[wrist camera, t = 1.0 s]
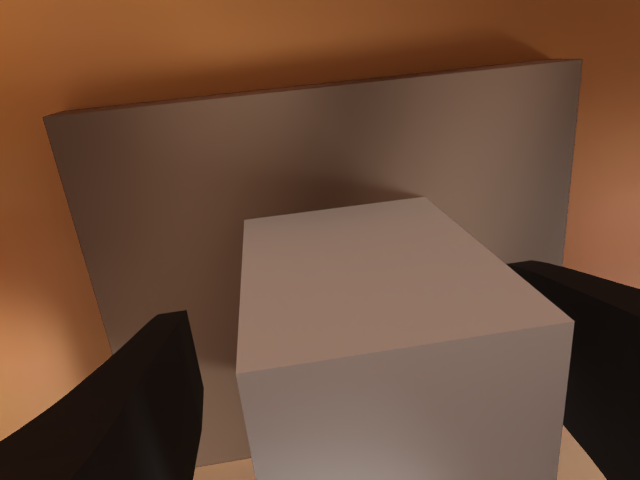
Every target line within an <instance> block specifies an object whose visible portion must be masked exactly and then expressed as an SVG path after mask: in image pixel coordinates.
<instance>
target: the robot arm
mask: <svg viewBox="0 0 640 480" xmlns="http://www.w3.org/2000/svg"><path fill="white" fill-rule="evenodd" d="M506 265H507V266H509V267H510V268H511V269H512V270H513V271H515V272H516V273H517V274H518V275H519V276H521V277H522V278H523V279H524V280H525V281H527V282H528V283H529V284H530V285H532V286H533V287H534V288H535V289H536V290H538V291H539V292H540V293H541V294H542V295H544V296H545V297H546V298H547V299H548V300H550V301H551V302H552V303H553V304H554V305H556V306H557V307H558V308H559V309H560V310H562V311H563V312H564V313H565V314H567V315H568V316H569V317H570V318H571V319H573V320H574V321H575V322H574V331H573V340H572V348H571V357H570V366H569V375H568V383H567V392H566V401H565V410H564V419H563V425H564V426H565V427H566V429H567V430H568V431H569V432H570V433H571V435H572V436H573V437H574V438H575V440H576V441H577V442H578V443H579V444H580V446H581V447H582V448H583V449H584V450H585V452H586V453H587V454H588V455H589V456H590V458H591V459H592V460H593V462H594V463H595V464H596V466H597V467H598V468H599V470H600V471H601V472H602V473H603V475H604V476H605V478H606V479H607V480H640V289H637V288H634V287H630V286H627V285H623V284H620V283H616V282H613V281H610V280H606V279H603V278H599V277H596V276H593V275H589V274H586V273H583V272H579V271H576V270H572V269H569V268H565V267H562V266H558V265H554V264H550V263H546V262H541V261H534V260H529V261H522V262H515V263H509V264H506ZM203 398H204V386H203V382H202V377H201V373H200V368H199V364H198V359H197V355H196V350H195V346H194V341H193V337H192V332H191V327H190V323H189V318H188V314H187V310H183V311H177V312H170V313H163V314H158V315H156V316H155V317H154V318H152V319H151V320H150V321H149V322H148V323H147V324H146V325H145V326H143V327H142V328H141V329H140V330H139V331H138V332H137V333H136V334H135V335H134V336H133V337H132V338H131V339H130V340H129V341H127V342H126V343H125V344H124V345H123V346H122V347H121V348H120V349H119V350H118V351H117V352H116V353H114V354H113V355H112V356H111V357H110V358H109V359H108V360H107V361H106V362H105V363H104V364H102V365H101V366H100V367H99V368H98V369H97V370H95V371H94V372H93V373H92V374H91V375H89V376H88V377H87V378H86V379H85V380H83V381H82V382H81V383H80V384H79V385H77V386H76V387H75V388H74V389H73V390H72V391H70V392H69V393H68V394H67V395H65V396H64V397H63V398H62V399H60V400H59V401H58V402H56V403H55V404H54V405H52V406H51V407H50V408H48V409H47V410H46V411H44V412H43V413H42V414H40V415H39V416H37V417H36V418H34V419H33V420H32V421H30V422H29V423H27V424H26V425H24V426H23V427H22V428H20V429H19V430H17V431H16V432H14V433H13V434H11V435H10V436H8V437H7V438H5V439H4V440H2V441H0V480H193V476H194V470H195V465H196V460H197V454H198V449H199V443H200V437H201V432H202V419H203Z"/></svg>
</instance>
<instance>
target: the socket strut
mask: <svg viewBox="0 0 640 480" xmlns="http://www.w3.org/2000/svg"><path fill="white" fill-rule="evenodd" d="M574 322H575V321H574V320H573V319H571V318H570V317H569V316H568V315H567V314H565V313H564V312H563V311H562V310H560V309H559V308H558V307H557V306H556V305H554V304H553V303H552V302H551V301H550V300H548V299H547V298H546V297H545V296H544V295H542V294H541V293H540V292H539V291H538V290H536V289H535V288H534V287H533V286H532V285H530V284H529V283H528V282H527V281H525V280H524V279H523V278H522V277H521V276H519V275H518V274H517V273H516V272H515V271H513V270H512V269H511V268H510V267H509V266H507V265H506V264H505V263H504V262H503V261H501V260H500V259H499V258H498V257H497V256H495V255H494V254H493V253H492V252H491V251H489V250H488V249H487V248H486V247H484V246H483V245H482V244H481V243H480V242H478V241H477V240H476V239H475V238H474V237H472V236H471V235H470V234H469V233H468V232H466V231H465V230H464V229H463V228H462V227H460V226H459V225H458V224H457V223H456V222H454V221H453V220H452V219H451V218H450V217H448V216H447V215H446V214H445V213H443V212H442V211H441V210H440V209H439V208H437V207H436V206H435V205H434V204H433V203H431V202H430V201H429V200H428V199H427V198H425V197H418V198H410V199H402V200H394V201H387V202H379V203H371V204H363V205H356V206H348V207H340V208H332V209H325V210H317V211H309V212H301V213H293V214H286V215H278V216H270V217H262V218H255V219H247V220H244V234H243V252H242V270H241V288H240V306H239V324H238V342H237V360H236V378H237V383H238V388H239V394H240V399H241V404H242V410H243V415H244V420H245V425H246V431H247V436H248V441H249V447H250V452H251V457H252V462H253V468H254V473H255V478H256V480H557V471H558V463H559V454H560V445H561V436H562V427H563V419H564V410H565V401H566V392H567V383H568V375H569V366H570V357H571V348H572V340H573V331H574Z"/></svg>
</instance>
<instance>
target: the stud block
mask: <svg viewBox="0 0 640 480" xmlns="http://www.w3.org/2000/svg"><path fill="white" fill-rule="evenodd" d="M582 61H583V59H548V60H539V61H529V62H520V63H511V64H501V65H492V66H482V67H473V68H464V69H454V70H445V71H435V72H426V73H417V74H407V75H398V76H388V77H379V78H370V79H360V80H351V81H341V82H332V83H323V84H313V85H304V86H294V87H285V88H276V89H266V90H257V91H247V92H238V93H229V94H219V95H210V96H200V97H191V98H182V99H172V100H163V101H153V102H144V103H135V104H125V105H116V106H106V107H97V108H88V109H78V110H69V111H62V112H59V113H55V114H52V115H48V116H45V117H43V121H44V124H45V127H46V131H47V134H48V138H49V141H50V144H51V148H52V151H53V154H54V158H55V161H56V165H57V168H58V171H59V175H60V178H61V181H62V185H63V188H64V192H65V195H66V198H67V202H68V205H69V209H70V212H71V215H72V219H73V222H74V225H75V229H76V232H77V236H78V239H79V242H80V246H81V249H82V252H83V256H84V259H85V263H86V266H87V269H88V273H89V276H90V280H91V283H92V286H93V290H94V293H95V296H96V300H97V303H98V307H99V310H100V313H101V317H102V320H103V324H104V327H105V330H106V334H107V337H108V340H109V344H110V347H111V351H112V354H114V353H116V352H117V351H118V350H119V349H120V348H121V347H122V346H123V345H124V344H125V343H126V342H127V341H129V340H130V339H131V338H132V337H133V336H134V335H135V334H136V333H137V332H138V331H139V330H140V329H141V328H142V327H143V326H145V325H146V324H147V323H148V322H149V321H150V320H151V319H152V318H154V317H155V316H156V315H158V314H163V313H170V312H177V311H183V310H187V314H188V318H189V323H190V327H191V332H192V337H193V341H194V346H195V350H196V355H197V359H198V364H199V368H200V373H201V377H202V382H203V386H204V398H203V419H202V432H201V437H200V443H199V449H198V454H197V460H196V465H195V467H201V466H207V465H213V464H219V463H224V462H230V461H236V460H242V459H248V458H252V457H251V452H250V447H249V441H248V436H247V431H246V425H245V420H244V415H243V410H242V404H241V399H240V394H239V388H238V383H237V378H236V360H237V342H238V324H239V306H240V288H241V270H242V252H243V234H244V220H247V219H255V218H262V217H270V216H278V215H286V214H293V213H301V212H309V211H317V210H325V209H332V208H340V207H348V206H356V205H363V204H371V203H379V202H387V201H394V200H402V199H410V198H418V197H425V198H427V199H428V200H429V201H430V202H431V203H433V204H434V205H435V206H436V207H437V208H439V209H440V210H441V211H442V212H443V213H445V214H446V215H447V216H448V217H450V218H451V219H452V220H453V221H454V222H456V223H457V224H458V225H459V226H460V227H462V228H463V229H464V230H465V231H466V232H468V233H469V234H470V235H471V236H472V237H474V238H475V239H476V240H477V241H478V242H480V243H481V244H482V245H483V246H484V247H486V248H487V249H488V250H489V251H491V252H492V253H493V254H494V255H495V256H497V257H498V258H499V259H500V260H501V261H503V262H504V263H505V264H509V263H515V262H522V261H529V260H534V261H541V262H546V263H550V264H554V265H558V266H562V264H563V254H564V244H565V234H566V224H567V213H568V203H569V193H570V183H571V173H572V163H573V153H574V142H575V132H576V122H577V112H578V102H579V92H580V81H581V71H582Z"/></svg>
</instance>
